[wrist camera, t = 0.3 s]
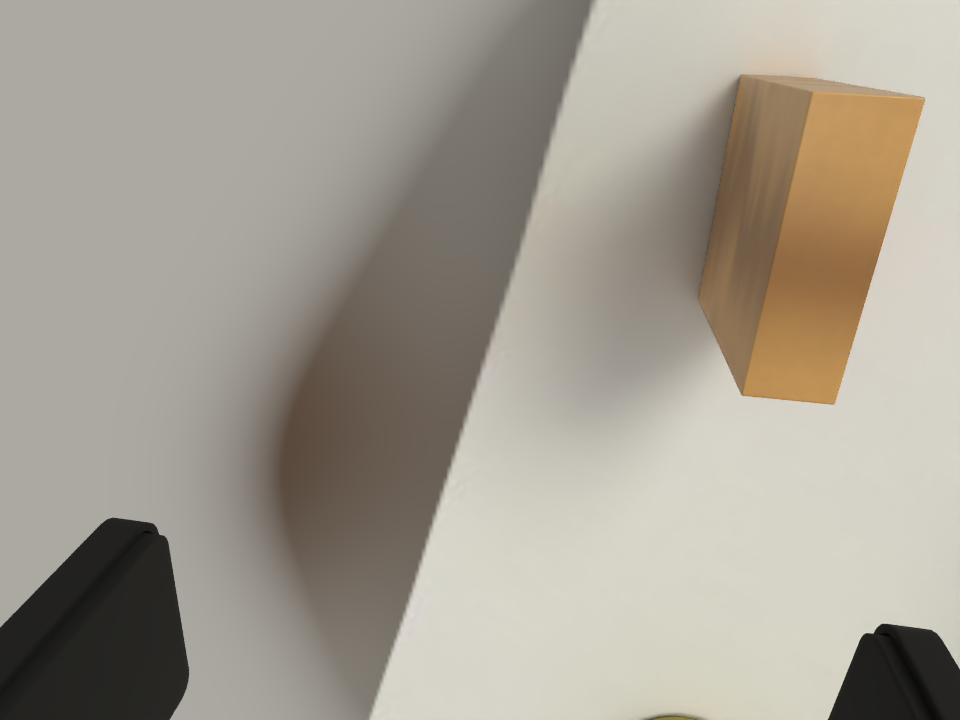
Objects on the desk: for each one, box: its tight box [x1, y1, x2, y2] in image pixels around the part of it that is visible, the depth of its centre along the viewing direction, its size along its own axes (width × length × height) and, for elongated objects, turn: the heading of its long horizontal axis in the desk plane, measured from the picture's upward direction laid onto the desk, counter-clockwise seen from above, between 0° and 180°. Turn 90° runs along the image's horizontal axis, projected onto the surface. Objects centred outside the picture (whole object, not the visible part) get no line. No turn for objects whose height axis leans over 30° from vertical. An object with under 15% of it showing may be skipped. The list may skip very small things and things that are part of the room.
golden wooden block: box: [698, 74, 925, 404], centre depth 20 cm, size 8×2×8 cm, turn 177°
